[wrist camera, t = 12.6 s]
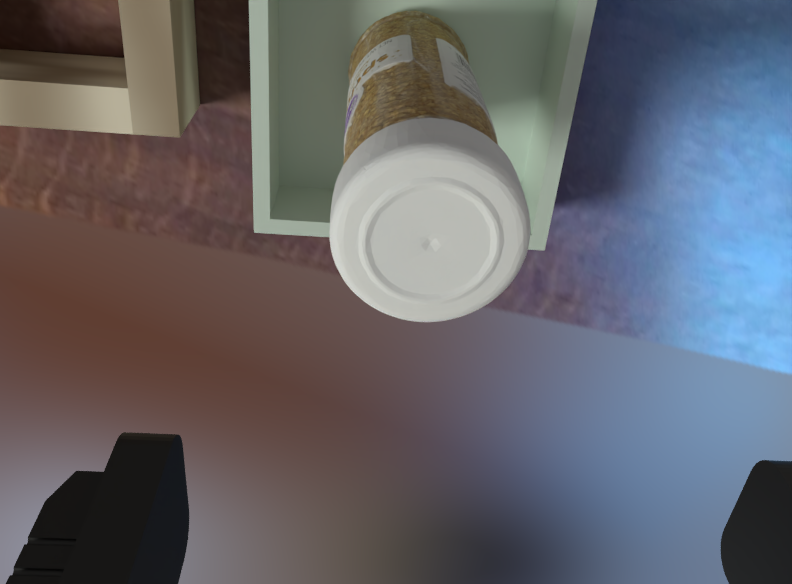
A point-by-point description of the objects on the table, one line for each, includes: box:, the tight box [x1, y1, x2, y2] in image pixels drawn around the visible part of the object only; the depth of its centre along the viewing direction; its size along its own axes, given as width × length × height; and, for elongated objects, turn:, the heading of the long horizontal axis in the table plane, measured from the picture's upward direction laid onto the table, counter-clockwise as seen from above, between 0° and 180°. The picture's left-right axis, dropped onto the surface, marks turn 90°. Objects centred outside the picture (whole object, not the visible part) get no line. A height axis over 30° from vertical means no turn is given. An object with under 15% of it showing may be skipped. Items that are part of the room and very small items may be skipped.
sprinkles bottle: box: [329, 11, 531, 322], centre depth 22 cm, size 5×5×13 cm
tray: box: [249, 0, 597, 250], centre depth 27 cm, size 11×11×4 cm
